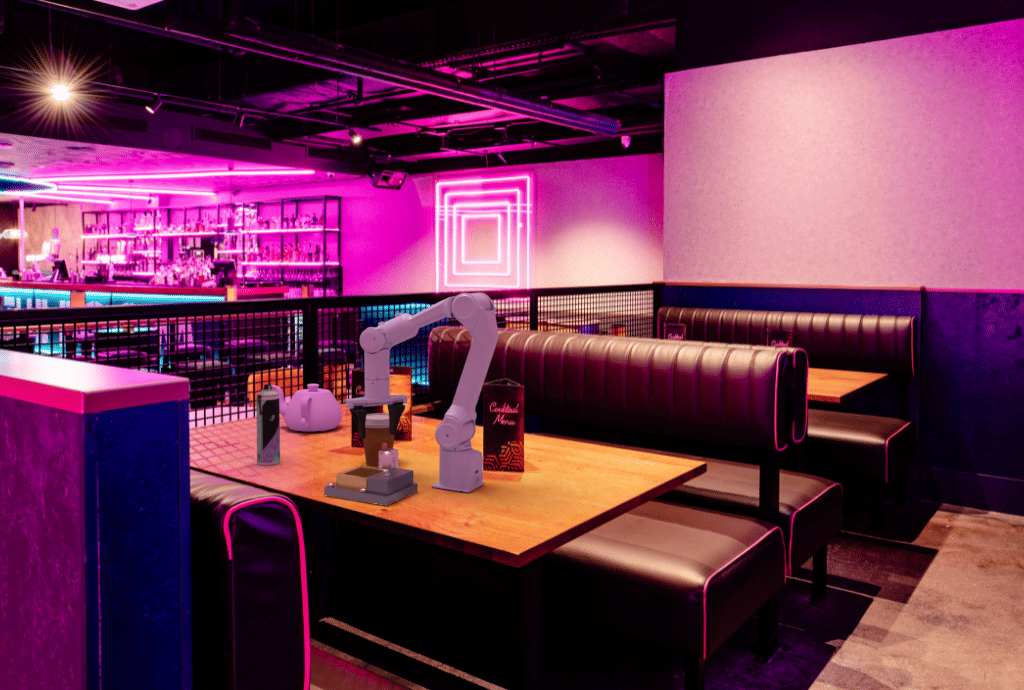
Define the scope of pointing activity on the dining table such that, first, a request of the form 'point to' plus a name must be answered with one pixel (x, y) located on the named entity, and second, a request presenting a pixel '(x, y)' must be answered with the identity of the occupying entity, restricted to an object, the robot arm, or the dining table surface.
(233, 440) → the dining table surface
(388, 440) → the disposable coffee cup
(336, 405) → the teapot
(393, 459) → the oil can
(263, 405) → the spray can
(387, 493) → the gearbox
